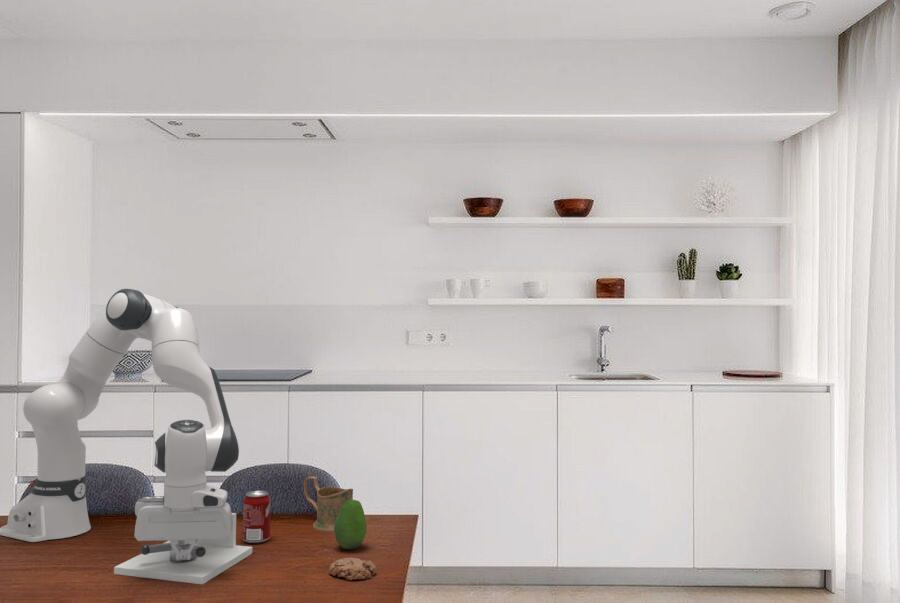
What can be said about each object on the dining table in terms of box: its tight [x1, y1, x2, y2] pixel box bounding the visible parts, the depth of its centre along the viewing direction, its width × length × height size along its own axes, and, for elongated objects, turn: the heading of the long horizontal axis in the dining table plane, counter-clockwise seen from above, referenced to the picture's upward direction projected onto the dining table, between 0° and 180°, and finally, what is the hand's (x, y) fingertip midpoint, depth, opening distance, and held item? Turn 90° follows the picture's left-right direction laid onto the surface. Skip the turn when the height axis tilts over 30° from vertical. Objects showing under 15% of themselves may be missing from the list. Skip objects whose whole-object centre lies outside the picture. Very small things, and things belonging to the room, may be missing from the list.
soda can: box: [241, 490, 271, 545], centre depth 186 cm, size 7×7×12 cm
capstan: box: [139, 540, 206, 562], centre depth 165 cm, size 15×13×5 cm
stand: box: [113, 512, 254, 585], centre depth 168 cm, size 22×21×10 cm
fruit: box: [333, 499, 367, 551], centre depth 180 cm, size 8×8×12 cm
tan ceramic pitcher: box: [303, 476, 354, 533], centre depth 201 cm, size 12×18×12 cm, turn 54°
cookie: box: [328, 557, 377, 581], centre depth 163 cm, size 10×11×3 cm
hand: (183, 559), depth 160 cm, fingers closed
